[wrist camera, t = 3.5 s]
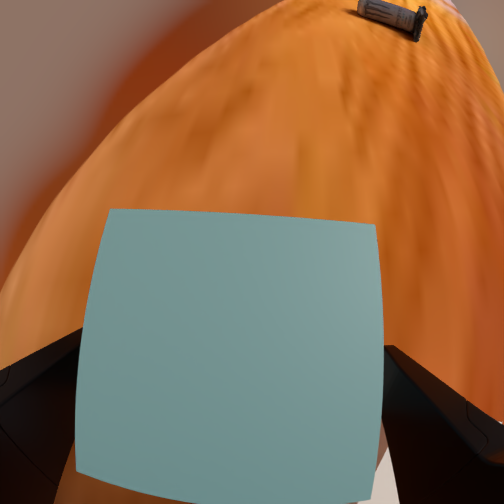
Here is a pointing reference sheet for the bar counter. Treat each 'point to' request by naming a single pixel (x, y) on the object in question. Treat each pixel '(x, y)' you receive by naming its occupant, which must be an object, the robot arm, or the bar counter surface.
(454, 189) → the bar counter surface
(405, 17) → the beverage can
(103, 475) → the teal column
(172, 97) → the bar counter surface
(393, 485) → the base brick
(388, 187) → the bar counter surface
